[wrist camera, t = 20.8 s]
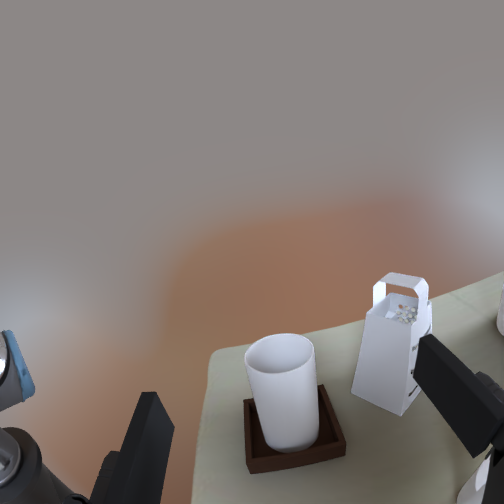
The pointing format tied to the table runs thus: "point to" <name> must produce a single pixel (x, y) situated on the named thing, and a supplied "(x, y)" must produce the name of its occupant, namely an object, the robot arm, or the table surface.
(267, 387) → the cup
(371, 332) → the grater
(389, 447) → the table surface
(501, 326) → the cylinder
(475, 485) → the base with upright slab
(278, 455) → the tray
